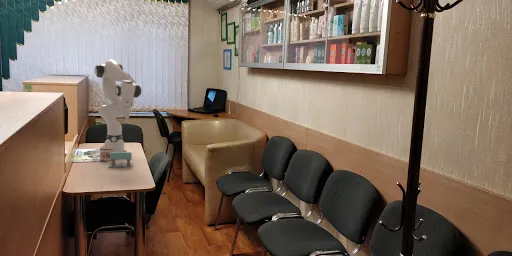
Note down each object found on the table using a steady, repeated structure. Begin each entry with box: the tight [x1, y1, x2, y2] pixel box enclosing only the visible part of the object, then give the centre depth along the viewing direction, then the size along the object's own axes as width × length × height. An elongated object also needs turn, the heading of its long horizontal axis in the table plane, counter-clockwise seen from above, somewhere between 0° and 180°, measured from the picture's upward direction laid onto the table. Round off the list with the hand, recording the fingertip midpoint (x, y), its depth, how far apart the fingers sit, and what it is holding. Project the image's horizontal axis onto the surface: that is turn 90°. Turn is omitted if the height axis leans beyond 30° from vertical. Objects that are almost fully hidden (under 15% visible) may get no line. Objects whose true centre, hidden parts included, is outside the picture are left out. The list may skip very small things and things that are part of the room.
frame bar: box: [110, 151, 133, 161], centre depth 293 cm, size 2×14×5 cm, turn 103°
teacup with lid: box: [99, 143, 116, 162], centre depth 311 cm, size 12×9×12 cm
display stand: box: [108, 159, 134, 169], centre depth 294 cm, size 10×16×6 cm, turn 104°
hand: (127, 121), depth 302 cm, fingers open, 8 cm apart
